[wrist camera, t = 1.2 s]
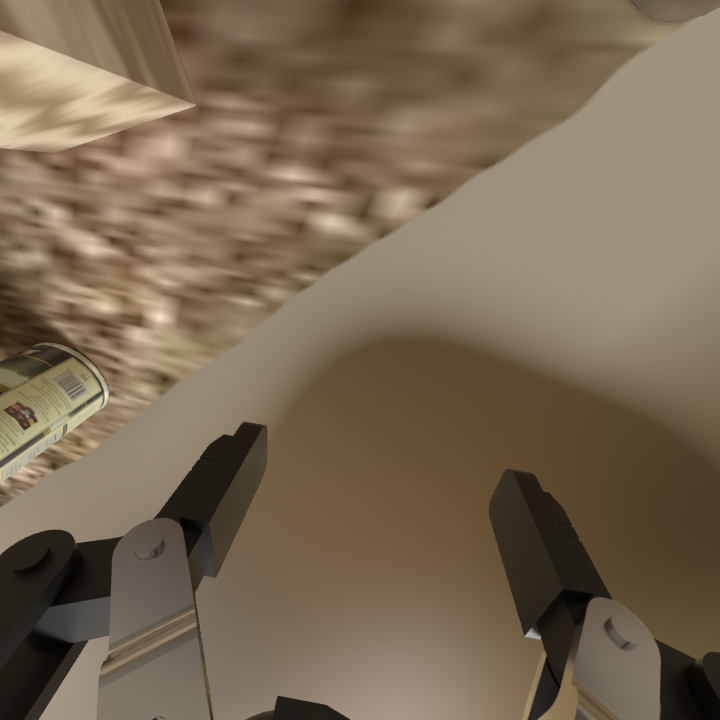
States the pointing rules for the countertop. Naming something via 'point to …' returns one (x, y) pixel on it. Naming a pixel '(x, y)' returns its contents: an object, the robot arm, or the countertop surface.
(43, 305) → the countertop surface
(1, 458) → the coffee can
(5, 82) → the stand
